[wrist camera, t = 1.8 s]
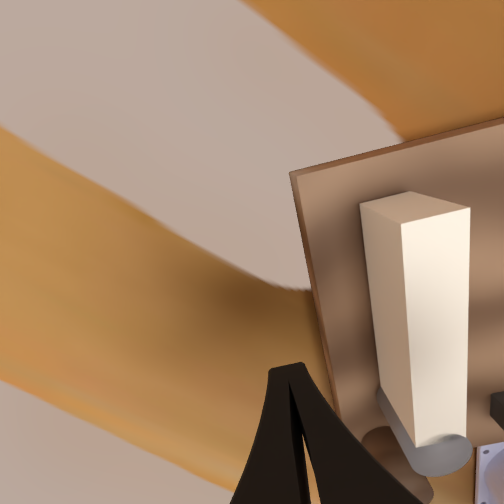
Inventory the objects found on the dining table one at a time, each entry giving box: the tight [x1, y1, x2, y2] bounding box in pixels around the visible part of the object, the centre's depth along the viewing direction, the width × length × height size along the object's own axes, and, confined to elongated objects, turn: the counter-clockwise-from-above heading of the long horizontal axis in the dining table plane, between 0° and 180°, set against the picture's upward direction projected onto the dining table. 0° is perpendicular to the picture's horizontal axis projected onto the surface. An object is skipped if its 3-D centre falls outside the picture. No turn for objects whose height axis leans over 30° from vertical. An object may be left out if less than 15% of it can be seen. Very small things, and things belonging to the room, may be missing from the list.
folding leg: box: [360, 191, 473, 477], centre depth 15 cm, size 15×3×4 cm, turn 14°
